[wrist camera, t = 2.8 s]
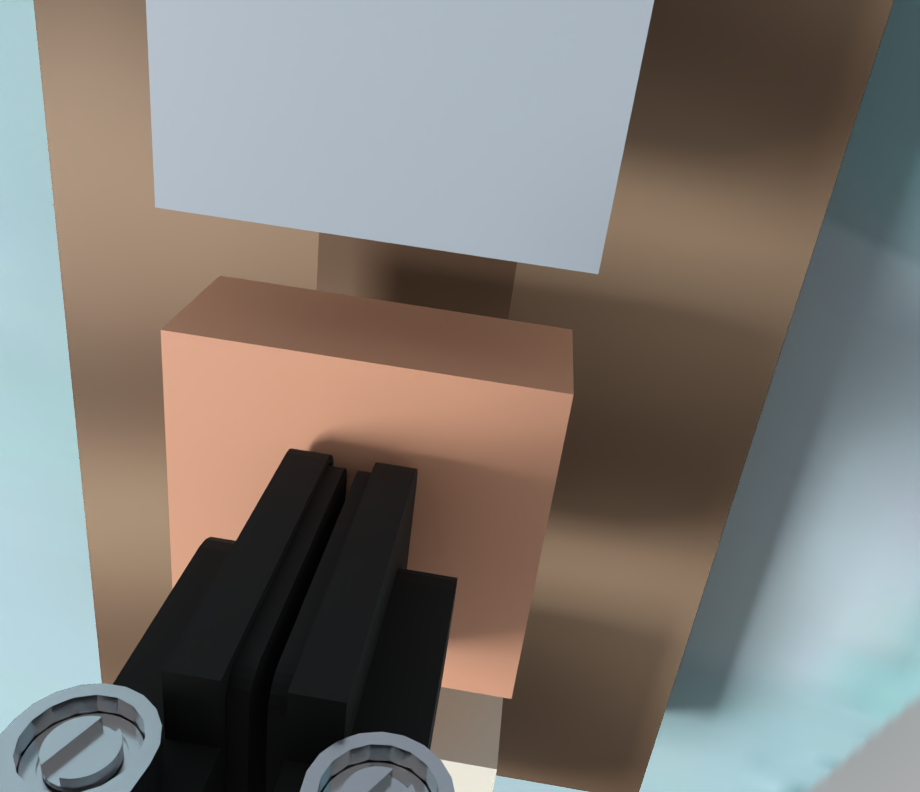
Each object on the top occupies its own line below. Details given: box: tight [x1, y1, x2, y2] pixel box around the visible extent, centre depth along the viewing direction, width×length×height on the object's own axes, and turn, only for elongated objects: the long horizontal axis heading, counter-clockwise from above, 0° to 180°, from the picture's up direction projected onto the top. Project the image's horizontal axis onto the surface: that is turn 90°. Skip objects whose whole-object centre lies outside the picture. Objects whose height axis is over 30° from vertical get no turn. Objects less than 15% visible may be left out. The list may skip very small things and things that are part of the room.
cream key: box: [430, 687, 503, 792], centre depth 16 cm, size 5×5×4 cm
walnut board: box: [34, 0, 894, 792], centre depth 16 cm, size 18×12×2 cm, turn 173°
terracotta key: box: [161, 276, 574, 699], centre depth 13 cm, size 5×5×4 cm
